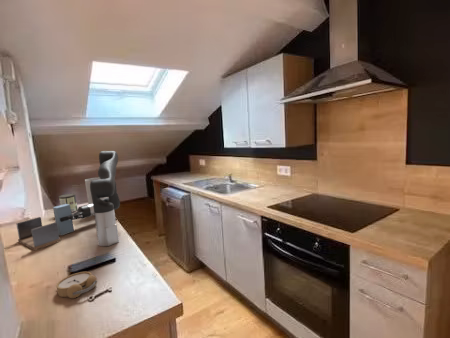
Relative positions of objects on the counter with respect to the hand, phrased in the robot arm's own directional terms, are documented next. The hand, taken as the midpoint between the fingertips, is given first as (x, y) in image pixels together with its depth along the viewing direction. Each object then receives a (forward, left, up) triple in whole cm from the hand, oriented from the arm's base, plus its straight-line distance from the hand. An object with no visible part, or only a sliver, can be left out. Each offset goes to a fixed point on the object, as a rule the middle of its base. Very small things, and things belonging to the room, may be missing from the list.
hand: (58, 219), depth 143 cm
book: (0, -3, -9) cm, 9 cm away
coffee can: (+37, -23, -9) cm, 45 cm away
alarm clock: (-63, +22, -10) cm, 68 cm away
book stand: (+1, +10, -9) cm, 14 cm away
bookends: (+1, +10, -8) cm, 13 cm away
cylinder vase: (+18, -34, -9) cm, 40 cm away
